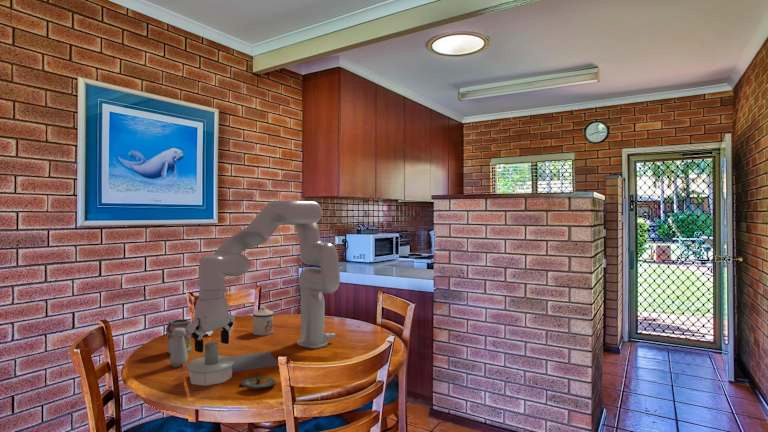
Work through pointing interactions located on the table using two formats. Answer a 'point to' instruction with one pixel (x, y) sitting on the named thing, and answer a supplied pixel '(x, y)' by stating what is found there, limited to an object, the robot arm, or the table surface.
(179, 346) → the salt shaker
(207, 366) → the cover
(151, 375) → the table surface
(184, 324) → the grey jar
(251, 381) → the lid
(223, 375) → the bowl
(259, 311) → the teacup with lid
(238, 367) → the mat
